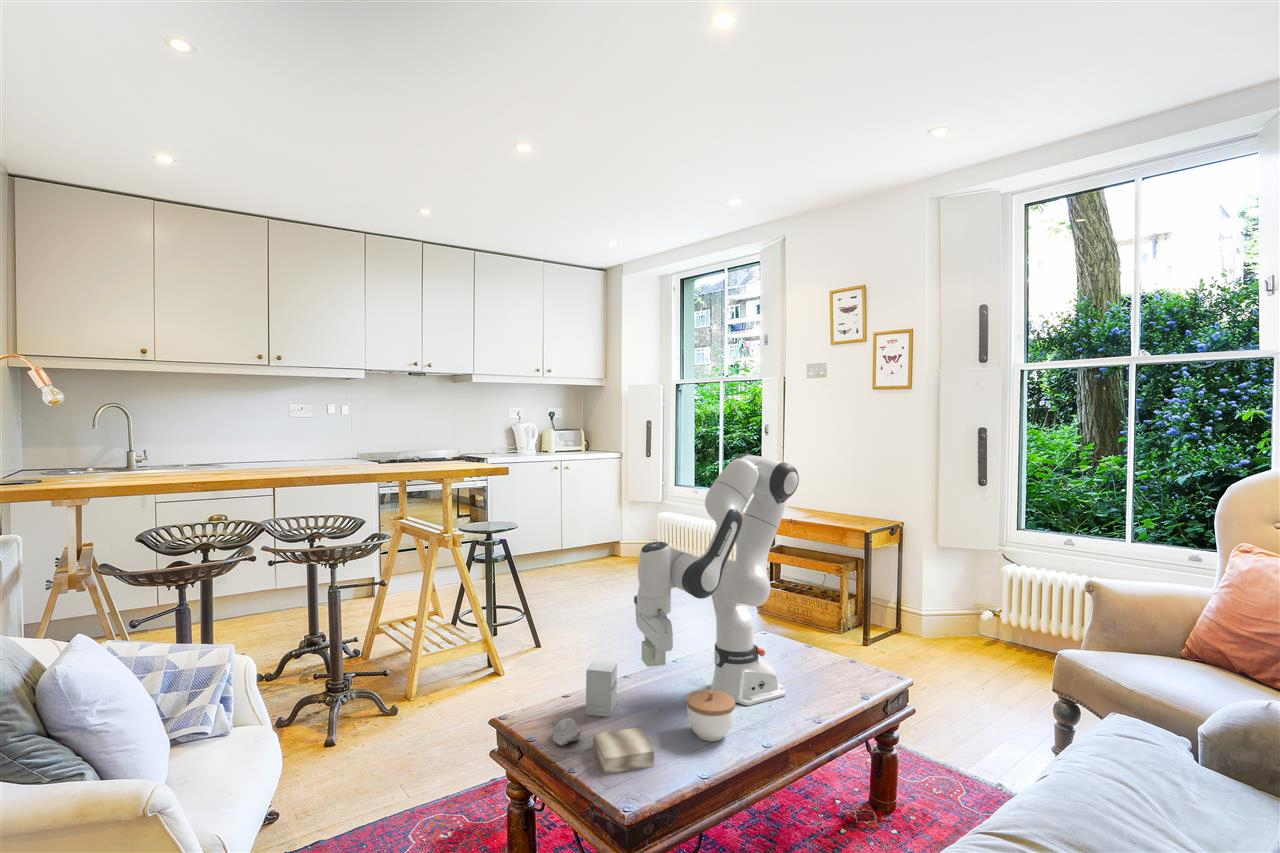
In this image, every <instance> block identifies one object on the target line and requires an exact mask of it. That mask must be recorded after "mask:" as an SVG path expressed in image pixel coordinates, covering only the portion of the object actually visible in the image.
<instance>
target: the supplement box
mask: <svg viewBox="0 0 1280 853" xmlns="http://www.w3.org/2000/svg"><path fill="white" fill-rule="evenodd" d="M585 671H586V674H585V675H586V676H585V677H586V678H585V681H586V682H585V685H586V686H585V689H586V690H585V714H586V715H588V716H596V717H597V716H598V717H604V718H605V717H606V718H607V717H609V718H610V717H611V716H612V714H613V712H614V710H615V708H616V706H617V697H618V696H617V695H618V694H617V693H618V692H617V691H618V683H617V682H618V662H617V661H606V660H605V661H604V660H592V662H591V663H590V664H589V666H588V668H587V669H586V670H585Z"/></svg>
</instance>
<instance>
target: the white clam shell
mask: <svg viewBox="0 0 1280 853" xmlns="http://www.w3.org/2000/svg"><path fill="white" fill-rule="evenodd" d="M581 738H582V737H581V730H580V729H579V728H578V725H577V723H576V720H574V719H573V718H571V717H570V718H564V719H561V720H560V721H558V722H557V723H556V725H555V726H554V728H553V734H552V741H553V742H554V743H556V744H557V745H559V746H565V745H567V744H569V743H570V742H577V741H580V740H581Z"/></svg>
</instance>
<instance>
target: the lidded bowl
mask: <svg viewBox="0 0 1280 853" xmlns="http://www.w3.org/2000/svg"><path fill="white" fill-rule="evenodd" d="M735 707H736V702H735V700H734V698H733V697H732V696H731V695H729V694H727V693H725V692H722V691H717V690H710V689H700V690H696V691H692V692H691V693H689V694H688V695H687V697H686V711H687V712H686V713H687V720H688V723H689V726H690V728H691V730H692V731H693V732H694V733H695V735H696V736H697V737H698V738H699V739H701V740H704V741H706V742H716V741H721V740H722V739H723V738H724V737H725V736H726V735H727V734H728V733H729V731H730V730H731V728H732V727H733V723H734V720H735Z"/></svg>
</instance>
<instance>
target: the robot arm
mask: <svg viewBox="0 0 1280 853" xmlns="http://www.w3.org/2000/svg"><path fill="white" fill-rule="evenodd" d="M799 477H800V476H799V473H798V471H797V468H796V467H795V466H794V465H792V464H790V463H787V462H785V461H784V462H783V461H781V460H778V459H775V458H771V457H768V456H759V455H753V454H751V453H741V454H738V455H736V456H735V457H734V458H733V459H732V460H731V462H729V463H728V464H727V465H726V467H724V469H723V470H722V471H721V473H720V474H719V475H718V476H717V478H716V479H715V480H714V482H713V483H712V485H711V486H710V488H709V489H708V491H707V494H706V496H705V499H704V506H705V510H706V512H707V514H708V515H709V517H710V518H711V519H712V520H713V521H714V522H715V531H714V533H713V536H712V537H711V540H710V542H709V543H708V546H707V548H706V550H705V551H704V553H703V554H702V555H701V556H696V555H693V554H691V553H688V552H685V551H681V550H678V549H676V548H674V547H672V546H670V545H669V544H668V543H667V542H665V541H652V542H649V543H646V544H645V545H644V546H642V547H641V550H640V551H639V555H638V563H637V564H638V565H637V579H638V584H639V585H638V590H637V594H636V595H633V604H635V622H636V626H637V629H638V630H639V632H641V633H642V634H643V635H644V636H643V637H644V641H648V640H650V642H651V643H652V644H653V645H654V646H655V653H654V660H655V661H656V662H659V661H661V660H662V653H663V652H664V651H666V652H670V651H672V650H673V648H674V639H673V638H674V635H673V634H674V633H673V625H672V624H673V623H672V621H671V620H670V619H669V618H668V615H669V614H670V613H671V610H672V609H671V608H672V607H671V606H672V589H674V588H677V589H679V590H681V591H684V592H686V593H688V594H689V595H690V596H692V597H693V598H697V599H699V600H700V599H706V598H709V597H710V596H711V600H712V604H713V608H714V613H715V614H714V615H715V622H716V623H715V624H716V626H715V628H716V632H715V634H716V635H715V636H716V641H715V643H714V652H713V653H714V656H713V657H714V673H713V677H712V682H711V685H710V688H709V690H717V691H722V692H725V693H727V694H729V695H731V696H732V697H733V698H734V700H735V704H737V703H738V704H741V705H743V706H752V705H756V704H759V703H763V702H767V701H771V700H774V699H778V698H782V697H785V696H786V695H787V694H786V692H787V691H786V688H785V687H784V686H783V684H782V683H780V682H779V681H778V680H779V679H778V676H777V673H776V671H775V669H774V668H773V667H772V666H771V665H769V664H768V663H767V662H766V661H765V660H763V658H761V657H765V655H766V651H765V649H764V648H762V647H759V646H758V645H756V644H754V628H755V627H754V625H755V624H754V623H755V622H754V619H753V616H752V614H751V613H750V611H749V608H748V607H760V606H763V604H764V603H766V602H767V601H768V599H769V597H770V595H771V582H770V580H769V576H768V572H767V571H768V558H769V555H770V550H771V547H772V545H773V542H774V539H775V537H776V535H777V532H778V530H779V528H780V525H781V522H782V519H783V516H784V512H785V507H786V506H785V505H786V501H787V500H788V499H790V498H791V497H792V496H793V495H794V494H795V492H796V491H797V488H798V485H799V481H800V480H799V479H800V478H799ZM752 495H753V497H752ZM751 497H752V498H751ZM750 499H751V500H750ZM749 501H750V502H749ZM748 502H749V504H748ZM747 504H748V505H747ZM746 506H747V507H746ZM744 510H745V511H744ZM743 512H744V513H743ZM734 546H736V555H735V560H733V559H730V558H729V557H730V554H731V552H732V550H733V548H734Z"/></svg>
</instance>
